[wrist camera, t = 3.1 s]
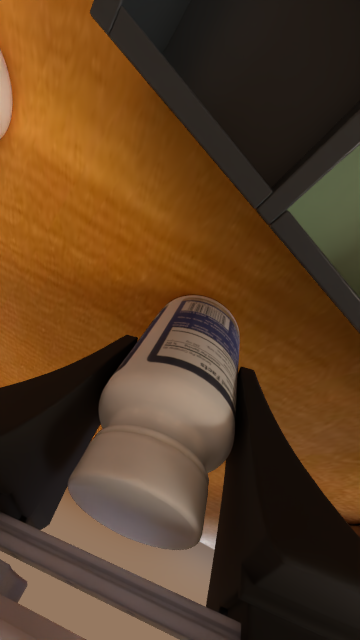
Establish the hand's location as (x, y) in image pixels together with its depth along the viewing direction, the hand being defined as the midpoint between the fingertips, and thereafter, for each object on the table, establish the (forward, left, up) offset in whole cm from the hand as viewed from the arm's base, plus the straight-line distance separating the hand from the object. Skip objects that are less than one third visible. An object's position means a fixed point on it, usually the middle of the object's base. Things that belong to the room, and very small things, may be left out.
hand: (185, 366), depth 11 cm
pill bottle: (0, 0, -4) cm, 4 cm away
